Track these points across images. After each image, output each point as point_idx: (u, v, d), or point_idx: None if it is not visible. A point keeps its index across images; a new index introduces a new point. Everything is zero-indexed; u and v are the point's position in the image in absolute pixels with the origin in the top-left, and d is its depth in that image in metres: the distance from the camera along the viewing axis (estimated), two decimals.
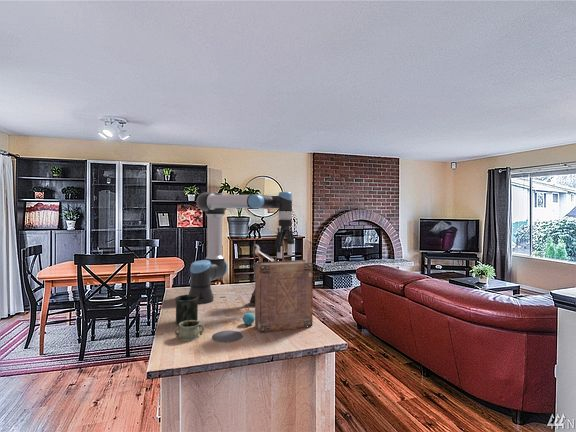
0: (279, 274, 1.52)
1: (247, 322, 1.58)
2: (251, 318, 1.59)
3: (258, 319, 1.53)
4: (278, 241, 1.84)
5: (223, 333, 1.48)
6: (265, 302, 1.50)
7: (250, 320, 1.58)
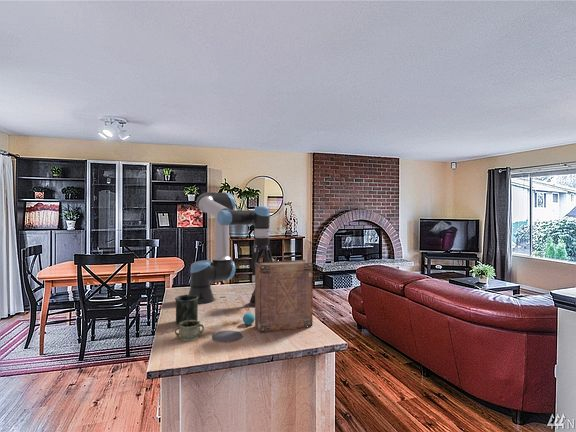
0: (279, 274, 1.52)
1: (247, 322, 1.58)
2: (251, 318, 1.59)
3: (258, 319, 1.53)
4: (253, 263, 1.62)
5: (223, 333, 1.48)
6: (265, 302, 1.50)
7: (250, 320, 1.58)
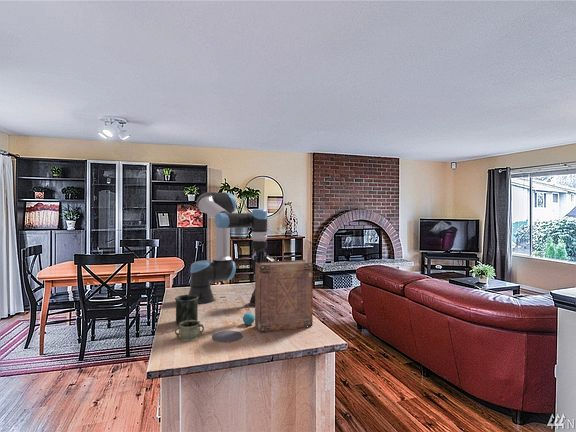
0: (279, 274, 1.52)
1: (247, 322, 1.58)
2: (251, 318, 1.59)
3: (258, 319, 1.53)
4: None
5: (223, 333, 1.48)
6: (265, 302, 1.50)
7: (250, 320, 1.58)
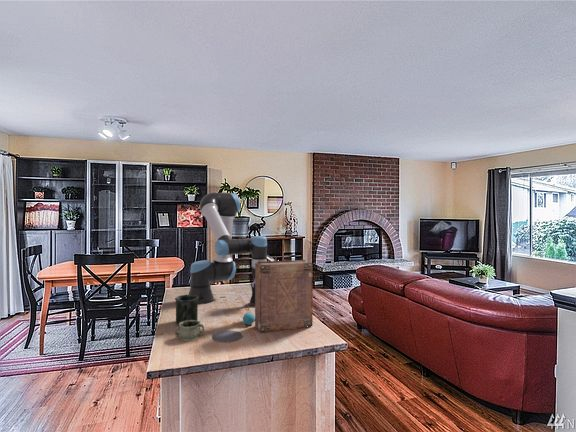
0: (279, 274, 1.52)
1: (247, 322, 1.58)
2: (251, 318, 1.59)
3: (258, 319, 1.53)
4: None
5: (223, 333, 1.48)
6: (265, 302, 1.50)
7: (250, 320, 1.58)
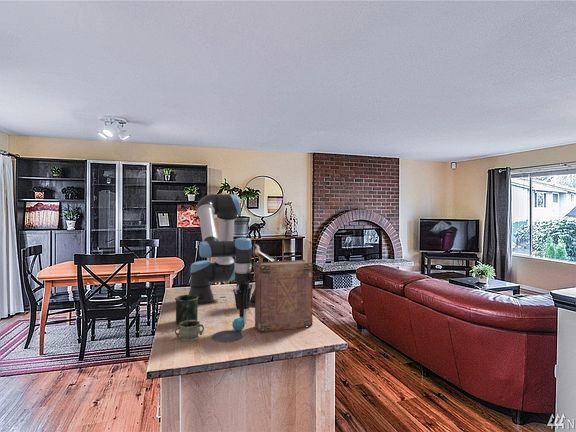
0: (279, 274, 1.52)
1: None
2: None
3: (258, 319, 1.52)
4: (239, 305, 1.52)
5: (223, 333, 1.48)
6: (265, 302, 1.50)
7: None
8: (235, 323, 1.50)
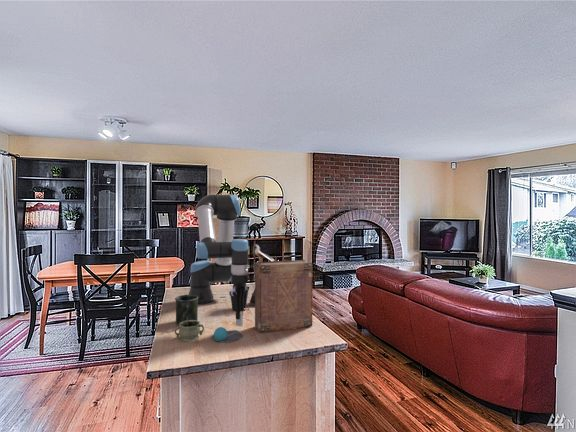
0: (279, 274, 1.52)
1: (220, 340, 1.39)
2: (222, 337, 1.38)
3: (258, 319, 1.52)
4: (235, 308, 1.50)
5: None
6: (265, 302, 1.50)
7: (222, 339, 1.39)
8: (221, 327, 1.41)
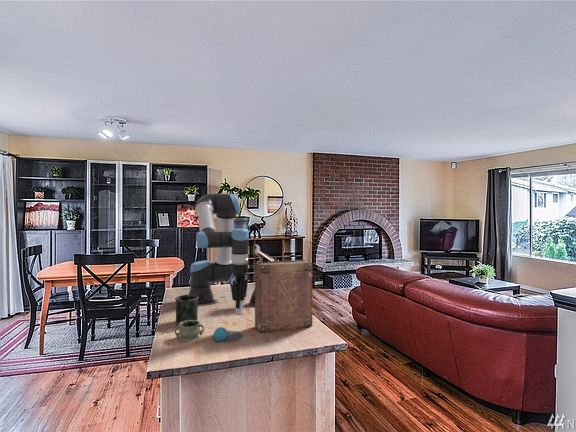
0: (279, 274, 1.52)
1: (220, 340, 1.39)
2: (222, 337, 1.38)
3: (258, 319, 1.52)
4: (235, 297, 1.50)
5: None
6: (265, 302, 1.50)
7: (222, 339, 1.39)
8: (221, 327, 1.41)
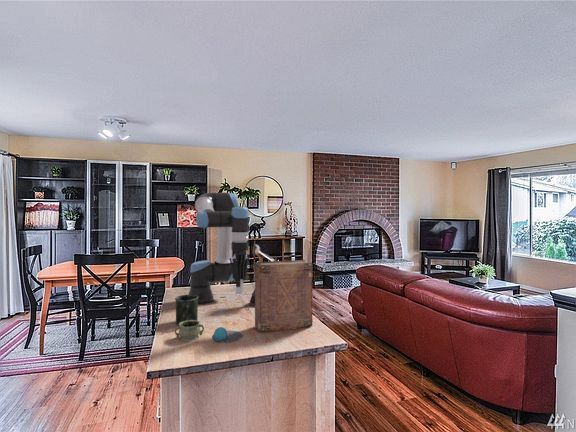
0: (279, 274, 1.52)
1: (220, 340, 1.39)
2: (222, 337, 1.38)
3: (258, 319, 1.52)
4: (235, 275, 1.49)
5: None
6: (265, 302, 1.50)
7: (222, 339, 1.39)
8: (221, 327, 1.41)
